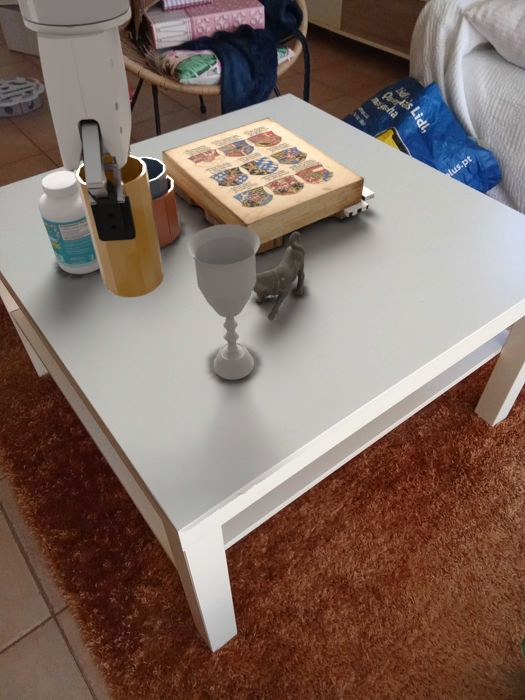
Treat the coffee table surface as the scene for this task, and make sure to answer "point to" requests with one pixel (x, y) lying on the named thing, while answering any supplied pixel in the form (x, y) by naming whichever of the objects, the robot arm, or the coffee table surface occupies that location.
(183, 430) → the coffee table surface
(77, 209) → the pill bottle
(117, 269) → the ochre cup
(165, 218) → the cup stack
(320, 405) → the coffee table surface
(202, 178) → the book
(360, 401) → the coffee table surface
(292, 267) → the dog figurine
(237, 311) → the chalice
